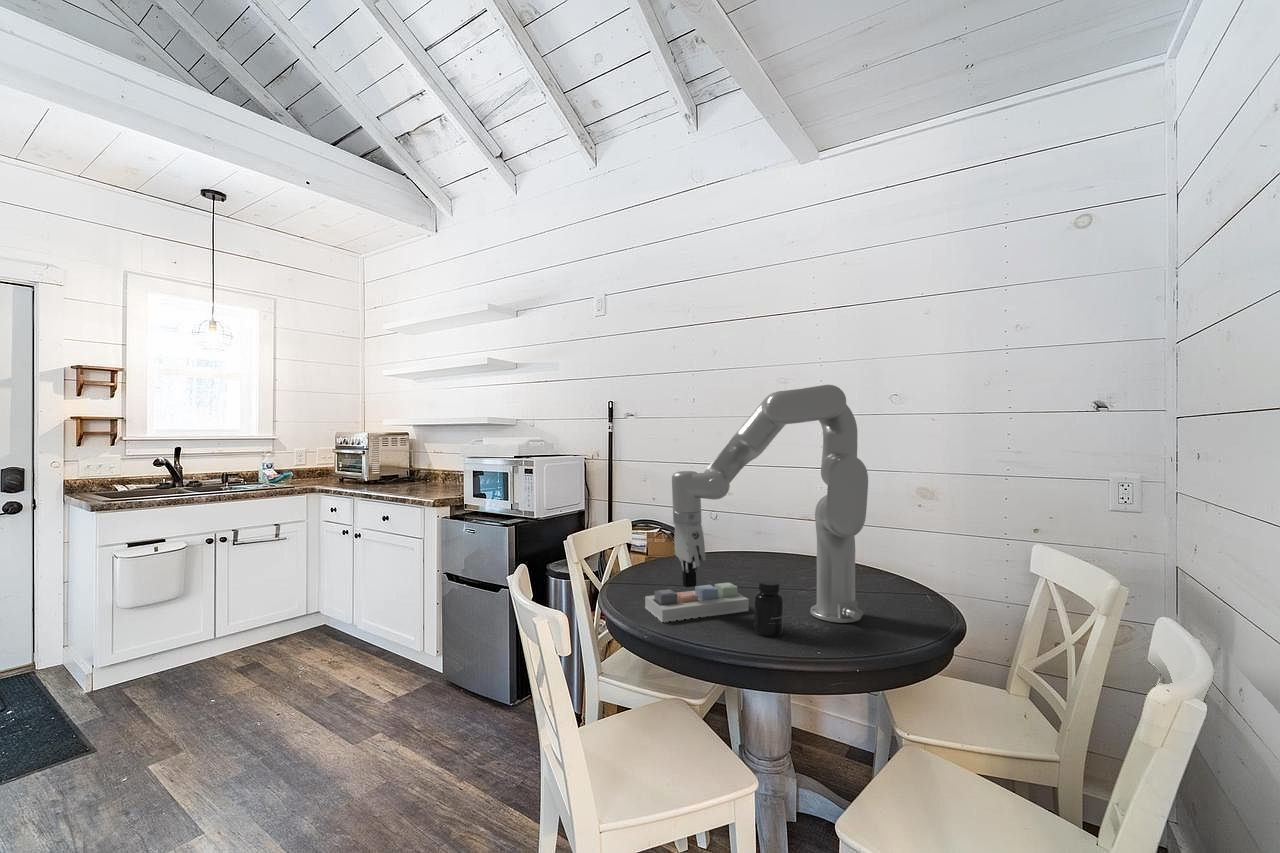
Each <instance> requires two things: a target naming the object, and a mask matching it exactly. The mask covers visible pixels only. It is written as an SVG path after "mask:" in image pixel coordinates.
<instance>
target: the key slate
mask: <svg viewBox="0 0 1280 853" xmlns="http://www.w3.org/2000/svg"><path fill="white" fill-rule="evenodd" d="M694 591H695V595H697V596H698V598H699V599H700V600H702V601H703V600H711V599H718V589H717V588H715V586H713V585H712V584H702V585H696V586H694Z"/></svg>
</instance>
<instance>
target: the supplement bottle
mask: <svg viewBox="0 0 1280 853" xmlns="http://www.w3.org/2000/svg"><path fill="white" fill-rule="evenodd" d="M780 591H781V590H780V582H778V581H776V580H771V579H768V580H767V579H763V580H760V581H759V583H758V592H756V593H755V595H754V606H753V607H754V608H753V609H754V610H753V612H754V615H753V616H754V617H753V618H754V619H753V620H754V621H753V629H754V632H755V633H756V634H757V635H760V636H764V637H769V638H770V637H774V638H775V637H779V636H781V635H782V634H783V633H784V597H783V595H782V594H781V593H779V592H780Z"/></svg>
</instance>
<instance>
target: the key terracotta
mask: <svg viewBox="0 0 1280 853" xmlns="http://www.w3.org/2000/svg"><path fill="white" fill-rule="evenodd" d="M682 592H683V593H679V592H676V593H677V600H678V601H679V602H681V603H687V602H695V601H698V596H697V595H695V594H693V593H692V592H687V591H682Z"/></svg>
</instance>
